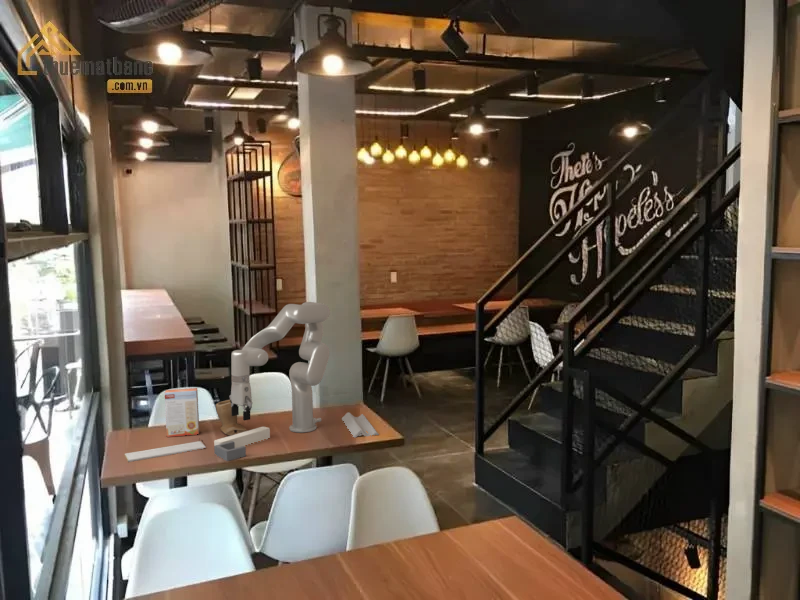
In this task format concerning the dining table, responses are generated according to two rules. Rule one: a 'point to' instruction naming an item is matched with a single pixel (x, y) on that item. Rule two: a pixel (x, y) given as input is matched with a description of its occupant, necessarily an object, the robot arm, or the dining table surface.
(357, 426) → the crown molding
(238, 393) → the robot arm
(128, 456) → the baseboard molding
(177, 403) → the cracker box
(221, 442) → the cream white rectangular bar
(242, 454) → the end cap
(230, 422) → the tan boot
